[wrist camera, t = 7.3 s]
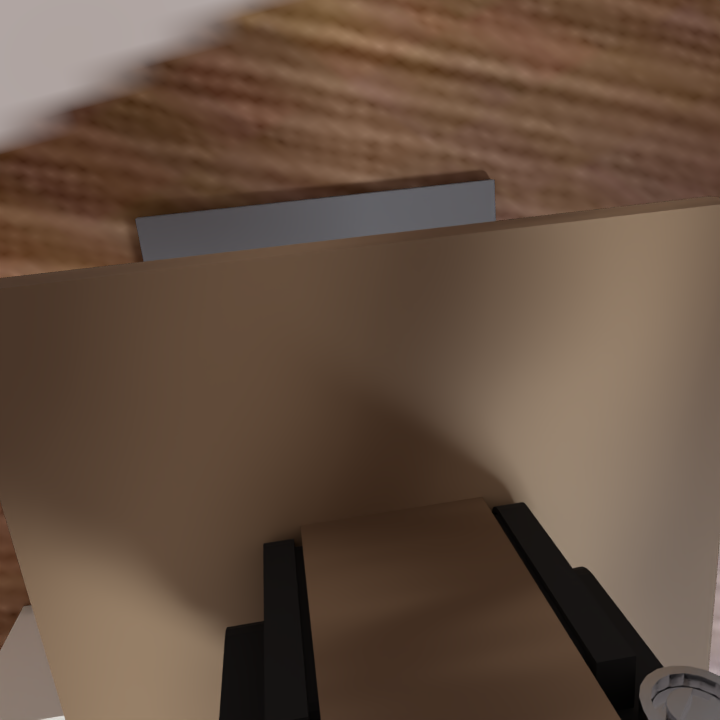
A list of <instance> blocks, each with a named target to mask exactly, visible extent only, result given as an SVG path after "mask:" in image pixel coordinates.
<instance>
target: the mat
mask: <svg viewBox="0 0 720 720" xmlns="http://www.w3.org/2000/svg"><path fill="white" fill-rule="evenodd" d="M135 220H136V225H137V230H138V236H139V241H140V246H141V251H142V256H143V261H144V262H145V261H154V260H163V259H171V258H180V257H188V256H197V255H206V254H214V253H223V252H232V251H240V250H249V249H258V248H266V247H275V246H284V245H292V244H301V243H310V242H318V241H327V240H336V239H344V238H353V237H362V236H370V235H379V234H388V233H396V232H405V231H413V230H422V229H431V228H439V227H448V226H457V225H465V224H474V223H483V222H491V221H496V214H495V183H494V180H492V179H489V180H480V181H470V182H461V183H452V184H443V185H434V186H424V187H415V188H406V189H397V190H387V191H378V192H369V193H360V194H350V195H341V196H332V197H323V198H314V199H304V200H295V201H286V202H277V203H267V204H258V205H249V206H240V207H230V208H221V209H212V210H203V211H193V212H184V213H175V214H166V215H157V216H147V217H138V218H136V219H135Z"/></svg>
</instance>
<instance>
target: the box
mask: <svg viewBox="0 0 720 720" xmlns="http://www.w3.org/2000/svg"><path fill="white" fill-rule="evenodd" d="M0 720H65V717H64V714H63V711H62V707H61V704H60V701H59V697H58V694H57V690H56V687H55V684H54V680H53V677H52V674H51V670H50V667H49V663H48V660H47V657H46V653H45V650H44V647H43V643H42V640H41V637H40V633H39V630H38V626H37V623H36V620H35V616H34V613H33V610H32V606H31V605H29V606H23V608H22V610H21V612H20V614H19V616H18V618H17V620H16V621H15V623H14V625H13V627H12V629H11V631H10V633H9V635H8V637H7V639H6V641H5V642H4V644H3V646H2V648H1V650H0Z"/></svg>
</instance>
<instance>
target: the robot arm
mask: <svg viewBox="0 0 720 720" xmlns="http://www.w3.org/2000/svg"><path fill="white" fill-rule="evenodd" d="M492 513H493V515H494V517H495V518H496V520H497V521H498V523H499V525H500V526H501V528H502V529H503V531H504V533H505V534H506V536H507V537H508V539H509V541H510V542H511V544H512V545H513V547H514V549H515V550H516V552H517V553H518V555H519V557H520V558H521V560H522V562H523V563H524V565H525V566H526V568H527V570H528V571H529V573H530V574H531V576H532V578H533V579H534V581H535V582H536V584H537V586H538V587H539V589H540V590H541V592H542V594H543V595H544V597H545V598H546V600H547V602H548V603H549V605H550V606H551V608H552V610H553V611H554V613H555V614H556V616H557V618H558V619H559V621H560V622H561V624H562V626H563V627H564V629H565V630H566V632H567V634H568V635H569V637H570V639H571V640H572V642H573V643H574V645H575V647H576V648H577V650H578V651H579V653H580V655H581V656H582V658H583V659H584V661H585V663H586V664H587V666H588V667H589V669H590V671H591V672H592V674H593V675H594V677H595V679H596V680H597V682H598V683H599V685H600V687H601V688H602V690H603V691H604V693H605V695H606V696H607V698H608V699H609V701H610V703H611V704H612V706H613V708H614V709H615V711H616V712H617V714H618V716H619V717H620V719H621V720H720V676H718V675H716V674H714V673H711V672H709V671H707V670H703V669H699V668H695V667H690V666H668V667H663V665H662V664H661V663H660V661H659V660H658V659H657V657H656V656H655V655H654V653H653V652H652V651H651V650H650V648H649V647H648V646H647V644H646V643H645V642H644V640H643V639H642V638H641V637H640V635H639V634H638V633H637V631H636V630H635V629H634V627H633V626H632V625H631V623H630V622H629V621H628V620H627V618H626V617H625V616H624V614H623V613H622V612H621V610H620V609H619V608H618V606H617V605H616V604H615V603H614V601H613V600H612V599H611V597H610V596H609V595H608V593H607V592H606V591H605V589H604V588H603V587H602V586H601V584H600V583H599V582H598V580H597V579H596V578H595V576H594V575H593V574H592V573H591V572H590V571H589V570H588V569H587V568H585V567H583V566H582V567H576V568H572V567H571V565H570V564H569V562H568V561H567V560H566V558H565V557H564V556H563V554H562V553H561V551H560V550H559V549H558V547H557V546H556V545H555V543H554V542H553V541H552V539H551V538H550V536H549V535H548V534H547V532H546V531H545V530H544V528H543V527H542V525H541V524H540V523H539V521H538V520H537V519H536V517H535V516H534V514H533V513H532V512H531V510H530V509H529V508H528V506H527V505H526V504H525V503H524V502H520V503H514V504H508V505H501V506H495V507H493V509H492ZM263 584H264V621H260V622H254V623H248V624H243V625H237V626H231V627H227V628H226V632H225V641H224V656H223V670H222V684H221V698H220V712H219V720H321V716H320V707H319V697H318V688H317V678H316V669H315V659H314V650H313V640H312V631H311V621H310V612H309V602H308V593H307V583H306V574H305V564H304V555H303V546H297V547H295V543H294V539H288V540H282V541H276V542H269V543H264V544H263Z"/></svg>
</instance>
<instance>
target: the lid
mask: <svg viewBox="0 0 720 720" xmlns="http://www.w3.org/2000/svg"><path fill="white" fill-rule="evenodd" d="M0 502H1V505H2V509H3V512H4V515H5V519H6V522H7V525H8V529H9V532H10V535H11V539H12V542H13V546H14V549H15V552H16V556H17V559H18V562H19V566H20V569H21V573H22V576H23V579H24V583H25V586H26V589H27V593H28V596H29V599H30V603H31V606H32V610H33V613H34V616H35V620H36V623H37V626H38V630H39V633H40V637H41V640H42V643H43V647H44V650H45V653H46V657H47V660H48V663H49V667H50V670H51V674H52V677H53V680H54V684H55V687H56V690H57V694H58V697H59V701H60V704H61V707H62V711H63V714H64V717H65V720H219V712H220V698H221V684H222V670H223V656H224V641H225V632H226V628H227V627H231V626H237V625H243V624H248V623H254V622H260V621H264V584H263V544H264V543H269V542H276V541H282V540H288V539H294V543H295V547H297V546H303V555H304V564H305V574H306V583H307V593H308V602H309V612H310V621H311V631H312V640H313V650H314V659H315V669H316V678H317V688H318V697H319V707H320V716H321V720H621V719H620V717H619V716H618V714H617V712H616V711H615V709H614V708H613V706H612V704H611V703H610V701H609V699H608V698H607V696H606V695H605V693H604V691H603V690H602V688H601V687H600V685H599V683H598V682H597V680H596V679H595V677H594V675H593V674H592V672H591V671H590V669H589V667H588V666H587V664H586V663H585V661H584V659H583V658H582V656H581V655H580V653H579V651H578V650H577V648H576V647H575V645H574V643H573V642H572V640H571V639H570V637H569V635H568V634H567V632H566V630H565V629H564V627H563V626H562V624H561V622H560V621H559V619H558V618H557V616H556V614H555V613H554V611H553V610H552V608H551V606H550V605H549V603H548V602H547V600H546V598H545V597H544V595H543V594H542V592H541V590H540V589H539V587H538V586H537V584H536V582H535V581H534V579H533V578H532V576H531V574H530V573H529V571H528V570H527V568H526V566H525V565H524V563H523V562H522V560H521V558H520V557H519V555H518V553H517V552H516V550H515V549H514V547H513V545H512V544H511V542H510V541H509V539H508V537H507V536H506V534H505V533H504V531H503V529H502V528H501V526H500V525H499V523H498V521H497V520H496V518H495V517H494V515H493V513H492V509H493V507H495V506H501V505H508V504H514V503H520V502H524V503H525V504H526V505H527V506H528V508H529V509H530V510H531V512H532V513H533V514H534V516H535V517H536V519H537V520H538V521H539V523H540V524H541V525H542V527H543V528H544V530H545V531H546V532H547V534H548V535H549V536H550V538H551V539H552V541H553V542H554V543H555V545H556V546H557V547H558V549H559V550H560V551H561V553H562V554H563V556H564V557H565V558H566V560H567V561H568V562H569V564H570V565H571V567H572V568H576V567H582V566H583V567H585V568H587V569H588V570H589V571H590V572H591V573H592V574H593V575H594V576H595V578H596V579H597V580H598V582H599V583H600V584H601V586H602V587H603V588H604V589H605V591H606V592H607V593H608V595H609V596H610V597H611V599H612V600H613V601H614V603H615V604H616V605H617V606H618V608H619V609H620V610H621V612H622V613H623V614H624V616H625V617H626V618H627V620H628V621H629V622H630V623H631V625H632V626H633V627H634V629H635V630H636V631H637V633H638V634H639V635H640V637H641V638H642V639H643V640H644V642H645V643H646V644H647V646H648V647H649V648H650V650H651V651H652V652H653V653H654V655H655V656H656V657H657V659H658V660H659V661H660V663H661V664H662V665H663V667H668V666H690V667H695V668H699V669H703V670H707V671H709V660H710V648H711V637H712V625H713V613H714V601H715V590H716V578H717V566H718V554H719V542H720V197H712V196H708V197H699V198H690V199H682V200H673V201H664V202H656V203H647V204H638V205H630V206H621V207H613V208H604V209H595V210H587V211H578V212H569V213H561V214H552V215H543V216H535V217H526V218H517V219H509V220H500V221H491V222H483V223H474V224H465V225H457V226H448V227H439V228H431V229H422V230H413V231H405V232H396V233H388V234H379V235H370V236H362V237H353V238H344V239H336V240H327V241H318V242H310V243H301V244H292V245H284V246H275V247H266V248H258V249H249V250H240V251H232V252H223V253H214V254H206V255H197V256H188V257H180V258H171V259H163V260H154V261H145V262H137V263H128V264H119V265H111V266H102V267H93V268H85V269H76V270H67V271H59V272H50V273H41V274H33V275H24V276H15V277H7V278H0Z"/></svg>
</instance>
